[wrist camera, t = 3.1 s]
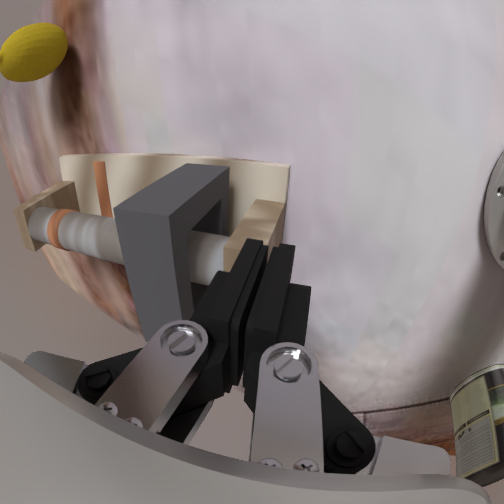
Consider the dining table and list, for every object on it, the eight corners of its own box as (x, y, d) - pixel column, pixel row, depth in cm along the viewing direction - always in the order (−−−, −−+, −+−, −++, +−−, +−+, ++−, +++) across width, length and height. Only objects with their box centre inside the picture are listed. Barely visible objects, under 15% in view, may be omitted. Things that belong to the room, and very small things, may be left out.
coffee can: (515, 351, 21) (541, 450, 9) (509, 388, 24) (523, 469, 12) (445, 383, 26) (455, 487, 14) (450, 413, 29) (454, 496, 17)
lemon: (68, 84, 18) (-1, 100, 12) (44, 63, 17) (-19, 75, 11) (93, 33, 16) (19, 35, 9) (66, 16, 15) (-1, 18, 8)
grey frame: (229, 166, 17) (168, 215, 11) (228, 281, 22) (188, 355, 16) (186, 163, 18) (113, 208, 12) (193, 273, 23) (146, 341, 16)
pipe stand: (290, 164, 18) (266, 206, 12) (278, 273, 23) (255, 343, 17) (64, 155, 23) (6, 182, 16) (79, 233, 27) (32, 270, 21)
